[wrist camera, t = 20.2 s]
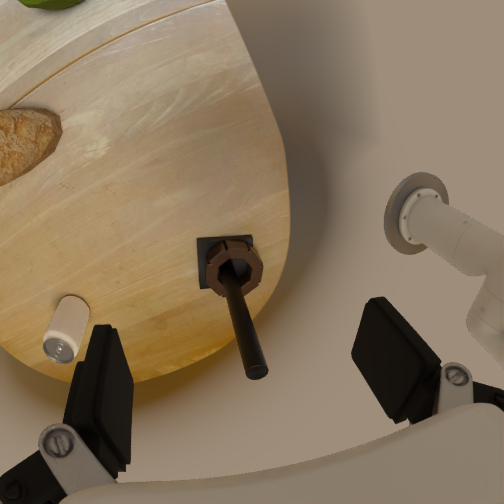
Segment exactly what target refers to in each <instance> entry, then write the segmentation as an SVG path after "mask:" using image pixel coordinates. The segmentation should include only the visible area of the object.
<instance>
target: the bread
mask: <svg viewBox="0 0 504 504" xmlns="http://www.w3.org/2000/svg"><path fill="white" fill-rule="evenodd" d="M62 133H63V132H62V128H61V123H60V117H59V116H58V115H56V114H54V113H52V112H50V111H49V110H47V109H6V110H0V186H2V185H4V184H6V183H9V182H10V181H12V180H14V179H16V178H18V177H20V176H22V175H23V174H25V173H27V172H29V171H31V170H32V169H33V168H34V167H35V166H37V165H38V164H39V163H40V162H42V161H43V160H44V159H45V158H47V157H48V156H49V155H50V154H52V153H53V152H54V151H55V149H56V147H57V144H58V142H59V140H60V137H61V135H62Z"/></svg>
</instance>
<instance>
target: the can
mask: <svg viewBox="0 0 504 504" xmlns="http://www.w3.org/2000/svg"><path fill="white" fill-rule="evenodd" d="M89 315H90V311H89V308H88V306H87V304H86V303H85V302H84V301H83V300H82V299H80V298H78V297H76V296H66V297H64V298H62V299H61V301H60V303H59V305H58V307H57V309H56V311H55V313H54V315H53V317H52V319H51V321H50V324H49V326H48V328H47V330H46V333H45V335H44V344H43V349H44V352H45V354H46V355H47V356H48V357H49V358H50V359H51V360H53V361H55V362H57V363H60V364H68V363H70V362H72V361H73V359H74V357H75V356H76V355H77V353H78V350H79V347H80V344H81V341H82V338H83V335H84V331H85V328H86V325H87V322H88V319H89Z"/></svg>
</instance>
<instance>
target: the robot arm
mask: <svg viewBox="0 0 504 504" xmlns="http://www.w3.org/2000/svg"><path fill="white" fill-rule="evenodd" d="M399 230H400V233H401V235H402V237H403V238H404V239H405V240H406V241H407V242H409V243H411V244H415V245H416V244H421V243H423V244H424V245H425V246H427V247H428V248H430V249H431V250H432V251H434V252H435V253H437V254H438V255H439V256H441V257H442V258H443V259H445V260H446V261H447V262H449V263H450V264H451V265H453V266H454V267H455V268H457V269H458V270H459V271H461V272H462V273H464V274H466V275H468V276H481V275H485V274H487V275H486V278H485V280H484V283H483V285H482V287H481V289H480V291H479V293H478V295H477V297H476V299H475V301H474V302H473V304H472V307H471V308H470V310H469V313H468V315H467V319H466V325H467V328H468V330H469V332H470V333H471V335H472V336H473V337H474V338H475V339H476V340H477V341H478V342H479V343H480V344H481V345H482V346H483V347H484V348H485V349H486V350H487V351H488V352H489V353H490V354H491V356H493V358H494V359H495V360H496V361H497V362H498V363H499V364H500V365H501V366H502V367H503V368H504V235H502V234H500V233H498V232H496V231H494V230H492V229H491V228H489V227H487V226H485V225H484V224H482V223H480V222H478V221H476V220H475V219H473V218H471V217H469V216H468V215H466V214H464V213H462V212H460V211H458V210H456V209H454V208H453V207H451V206H449V205H447V204H445V203H443V202H442V199H441V197H440V195H439V194H438V193H437V192H436V191H435V190H433V189H431V188H426V187H424V188H420V189H417V190H416V191H414V192H413V193H412V194H411V195H410V196H409V197H408V198H407V199H406V201H405V203H404V204H403V206H402V209H401V212H400V216H399ZM351 355H352V359H353V361H354V362H355V364H356V366H357V367H358V369H359V370H360V372H361V374H362V375H363V377H364V379H365V380H366V382H367V383H368V385H369V387H370V388H371V390H372V392H373V393H374V395H375V396H376V398H377V400H378V401H379V403H380V405H381V406H382V408H383V409H384V411H385V413H386V414H387V416H388V417H389V418H390V419H393V421H394V423H395V424H397V423H399V422H402V421H405V420H406V419H407V418H408V420H409V421H410V423H409V427H407V428H404V429H402V430H399V431H397V432H395V433H392V434H390V435H387V436H384V437H382V438H379V439H377V440H374V441H371V442H368V443H365V444H363V445H359V446H357V447H353V448H350V449H347V450H345V451H341V452H338V453H335V454H331V455H328V456H324V457H321V458H317V459H313V460H309V461H305V462H301V463H297V464H292V465H288V466H283V467H279V468H274V469H268V470H263V471H257V472H252V473H245V474H239V475H231V476H224V477H214V478H205V479H193V480H178V481H155V482H127V483H118V482H117V481H116V480H115V479H116V478H118V472H126V464H130V462H131V427H132V406H133V389H134V383H133V378H132V375H131V372H130V369H129V366H128V364H127V360H126V357H125V354H124V351H123V348H122V345H121V342H120V338H119V335H118V332H117V329H116V328H112V327H111V325H110V324H106V325H95V326H94V328H93V331H92V335H91V338H90V342H89V345H88V349H87V353H86V357H85V360H84V361H79V362H78V363H77V365H76V368H75V371H74V375H73V379H72V383H71V387H70V392H69V395H68V400H67V404H66V409H65V413H64V418H63V423H58V424H52V425H50V426H48V427H47V428H46V429H44V430H43V431H42V433H41V434H40V437H39V441H38V447H39V450H38V451H36V452H35V453H34V454H32V455H31V456H29V457H28V458H26V459H25V460H23V461H22V462H20V463H19V464H17V465H16V466H15V467H13V468H12V469H10V470H9V471H7V472H6V473H4V474H3V475H2V476H1V477H0V504H504V390H501V389H499V388H495V387H492V386H488V385H485V384H481V383H478V382H474V381H472V376H471V373H470V371H469V370H468V369H467V368H466V367H465V366H463V365H461V364H459V363H454V362H451V363H447V364H445V365H444V366H443V367H441V366H440V363H441V360H440V358H439V357H438V356H437V355H436V354H435V353H434V351H433V350H432V349H431V348H430V347H429V346H428V344H427V343H426V342H425V341H424V340H423V339H422V338H421V337H420V335H419V334H418V333H417V332H416V331H415V330H414V329H413V327H412V326H411V325H410V324H409V323H408V322H407V321H406V320H405V319H404V318H403V316H402V315H401V314H400V313H399V312H398V311H397V310H396V309H395V308H394V307H393V306H392V304H391V303H390V302H389V301H388V300H387V299H386V298H385V297H376V298H371V299H370V300H369V301H368V303H366V304H365V308H364V311H363V314H362V318H361V322H360V325H359V328H358V332H357V335H356V339H355V342H354V345H353V348H352V352H351Z"/></svg>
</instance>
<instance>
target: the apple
mask: <svg viewBox="0 0 504 504" xmlns="http://www.w3.org/2000/svg"><path fill="white" fill-rule="evenodd" d="M18 1H19V2H21V3H22V4H23V5H25V6H27V7H29V8H41V9H51V10H58V9H63V8H67V7H70V6H72V5H74V4H76V3H78V2H80V1H81V0H18Z"/></svg>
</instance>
